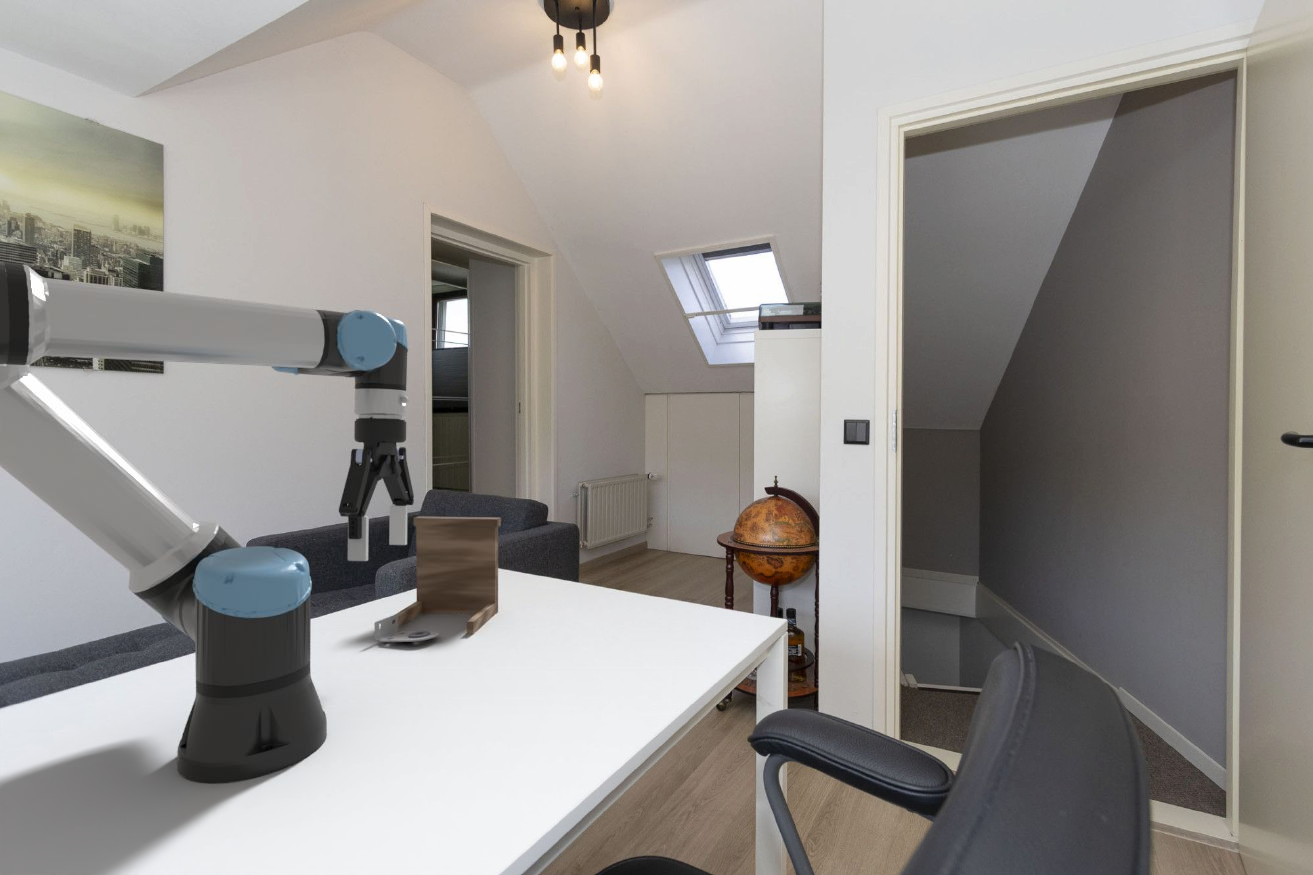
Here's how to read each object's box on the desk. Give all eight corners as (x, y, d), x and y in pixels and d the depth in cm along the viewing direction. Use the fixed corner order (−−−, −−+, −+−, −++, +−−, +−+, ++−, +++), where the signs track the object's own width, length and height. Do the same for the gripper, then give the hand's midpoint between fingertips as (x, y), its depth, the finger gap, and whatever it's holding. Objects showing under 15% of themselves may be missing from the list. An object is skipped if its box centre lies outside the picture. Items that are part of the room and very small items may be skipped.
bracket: (425, 645, 111) (426, 625, 111) (373, 641, 113) (374, 621, 113) (445, 636, 118) (446, 617, 118) (396, 632, 120) (396, 614, 120)
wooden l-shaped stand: (475, 635, 119) (475, 529, 119) (384, 632, 120) (383, 527, 120) (500, 612, 134) (500, 517, 133) (418, 610, 135) (418, 516, 134)
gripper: (365, 415, 89) (364, 569, 90) (434, 419, 114) (433, 539, 114) (312, 415, 90) (311, 567, 90) (392, 418, 115) (391, 538, 115)
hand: (379, 552), depth 102 cm, fingers open, 13 cm apart
